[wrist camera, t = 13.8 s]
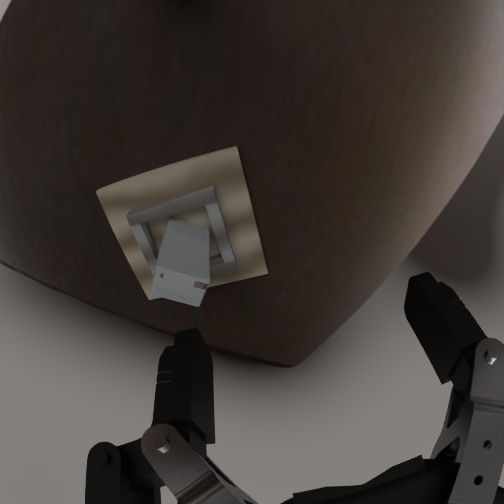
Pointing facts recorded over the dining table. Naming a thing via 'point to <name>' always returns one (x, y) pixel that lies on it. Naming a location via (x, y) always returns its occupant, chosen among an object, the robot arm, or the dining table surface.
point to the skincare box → (183, 263)
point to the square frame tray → (188, 215)
